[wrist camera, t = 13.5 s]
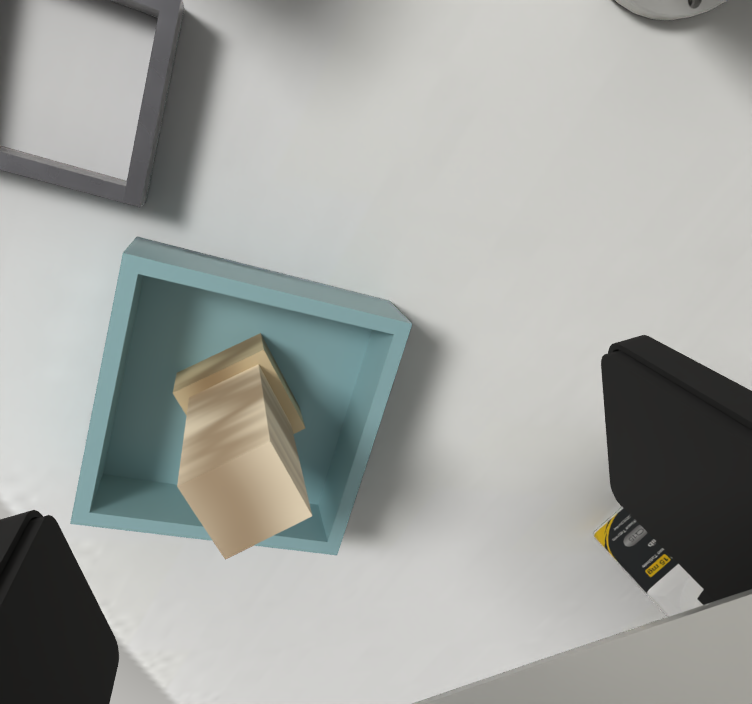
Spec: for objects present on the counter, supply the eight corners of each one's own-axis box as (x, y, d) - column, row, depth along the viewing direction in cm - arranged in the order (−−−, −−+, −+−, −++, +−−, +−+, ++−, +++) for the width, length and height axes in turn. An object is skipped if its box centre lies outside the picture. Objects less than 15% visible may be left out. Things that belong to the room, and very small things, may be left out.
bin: (389, 300, 38) (412, 323, 33) (324, 508, 41) (337, 555, 37) (137, 236, 33) (123, 252, 29) (89, 475, 37) (70, 523, 32)
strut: (260, 332, 35) (277, 422, 24) (299, 406, 37) (331, 520, 26) (176, 372, 35) (155, 481, 24) (220, 445, 37) (218, 576, 26)
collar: (184, 8, 30) (181, -2, 28) (145, 202, 33) (140, 207, 31) (-38, -73, 28) (-62, -92, 25) (-63, 145, 30) (-86, 146, 28)
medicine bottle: (660, 469, 47) (795, 572, 36) (702, 521, 50) (839, 632, 39) (589, 532, 47) (700, 653, 36) (635, 580, 50) (751, 707, 39)
